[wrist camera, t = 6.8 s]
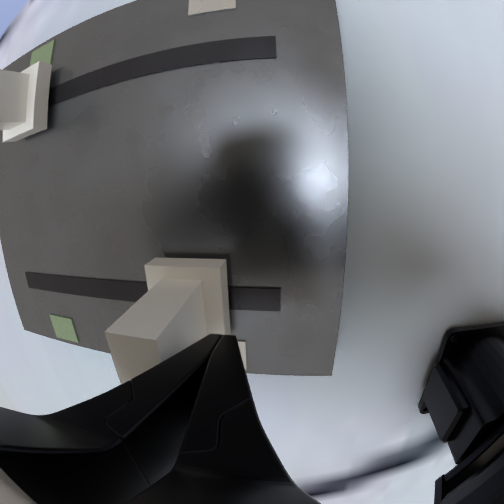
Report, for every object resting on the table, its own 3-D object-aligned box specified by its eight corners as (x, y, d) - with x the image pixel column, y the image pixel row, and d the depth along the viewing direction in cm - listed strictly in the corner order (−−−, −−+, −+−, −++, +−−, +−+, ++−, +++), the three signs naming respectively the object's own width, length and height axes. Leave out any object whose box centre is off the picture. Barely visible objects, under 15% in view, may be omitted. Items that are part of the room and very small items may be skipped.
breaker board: (327, -3, 9) (330, -25, 7) (328, 351, 14) (331, 376, 12) (19, 75, 12) (-2, 71, 10) (41, 317, 17) (23, 330, 15)
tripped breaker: (226, 259, 11) (178, 325, 6) (231, 339, 12) (198, 425, 7) (155, 257, 12) (81, 312, 7) (167, 333, 13) (113, 406, 8)
